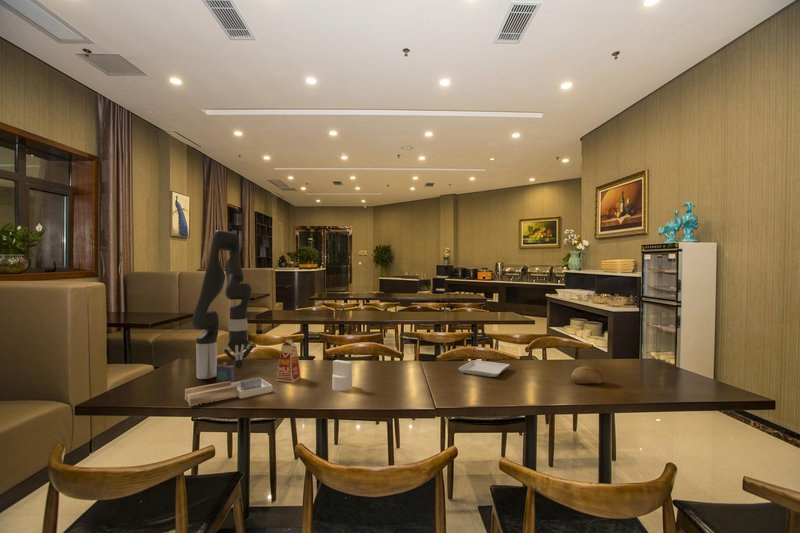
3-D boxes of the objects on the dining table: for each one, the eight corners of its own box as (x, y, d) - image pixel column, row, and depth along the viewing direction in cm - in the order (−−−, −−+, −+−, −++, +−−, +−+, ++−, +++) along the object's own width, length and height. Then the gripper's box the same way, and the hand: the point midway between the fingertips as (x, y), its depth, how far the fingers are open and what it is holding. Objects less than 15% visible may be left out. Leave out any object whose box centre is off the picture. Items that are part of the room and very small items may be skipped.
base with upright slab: (356, 386, 185) (356, 360, 185) (344, 392, 178) (344, 365, 177) (340, 383, 190) (340, 358, 190) (328, 389, 182) (328, 362, 182)
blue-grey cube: (249, 378, 182) (258, 377, 184) (249, 387, 182) (258, 385, 184) (252, 380, 179) (261, 379, 181) (252, 389, 179) (261, 387, 181)
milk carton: (293, 382, 192) (292, 340, 192) (275, 381, 194) (275, 339, 194) (301, 376, 201) (301, 337, 201) (284, 375, 203) (284, 336, 203)
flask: (235, 384, 189) (235, 362, 189) (231, 386, 186) (230, 363, 186) (218, 383, 191) (218, 360, 191) (214, 385, 188) (214, 362, 188)
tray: (228, 389, 182) (228, 383, 182) (259, 383, 191) (259, 377, 191) (240, 398, 170) (240, 391, 169) (272, 391, 178) (272, 385, 178)
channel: (184, 399, 168) (184, 389, 168) (229, 391, 179) (229, 381, 179) (190, 406, 160) (190, 395, 160) (237, 396, 172) (236, 386, 172)
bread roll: (608, 386, 184) (608, 369, 184) (575, 386, 185) (575, 369, 185) (598, 380, 194) (598, 363, 194) (567, 380, 194) (567, 363, 194)
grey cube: (240, 389, 179) (240, 380, 179) (249, 387, 182) (249, 378, 181) (243, 391, 176) (243, 382, 176) (252, 389, 178) (252, 380, 178)
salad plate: (457, 374, 206) (457, 367, 206) (472, 365, 225) (472, 359, 224) (497, 380, 195) (497, 373, 195) (510, 370, 213) (510, 364, 213)
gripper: (250, 326, 184) (250, 364, 184) (219, 329, 175) (219, 368, 176) (256, 328, 178) (256, 367, 178) (224, 331, 170) (224, 372, 170)
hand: (238, 368), depth 177 cm, fingers closed
